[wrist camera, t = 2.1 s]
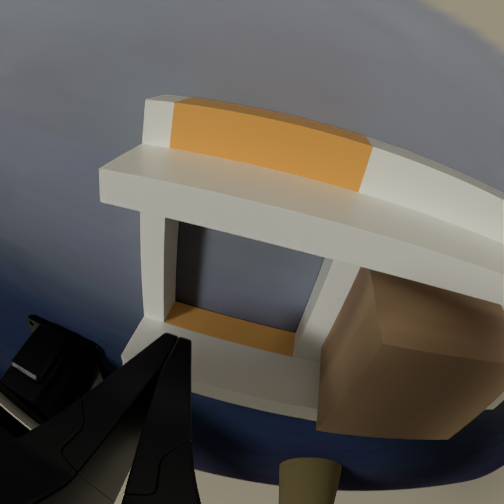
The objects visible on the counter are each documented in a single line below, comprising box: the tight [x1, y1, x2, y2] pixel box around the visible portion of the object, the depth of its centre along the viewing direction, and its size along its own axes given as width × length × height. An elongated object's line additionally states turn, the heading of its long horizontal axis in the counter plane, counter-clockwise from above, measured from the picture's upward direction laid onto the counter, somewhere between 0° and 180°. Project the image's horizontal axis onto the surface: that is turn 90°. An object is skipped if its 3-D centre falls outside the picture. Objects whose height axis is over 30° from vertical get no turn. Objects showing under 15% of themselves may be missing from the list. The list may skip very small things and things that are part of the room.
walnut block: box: [316, 267, 504, 440], centre depth 10 cm, size 6×5×4 cm
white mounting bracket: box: [99, 94, 504, 421], centre depth 11 cm, size 22×12×4 cm, turn 80°
